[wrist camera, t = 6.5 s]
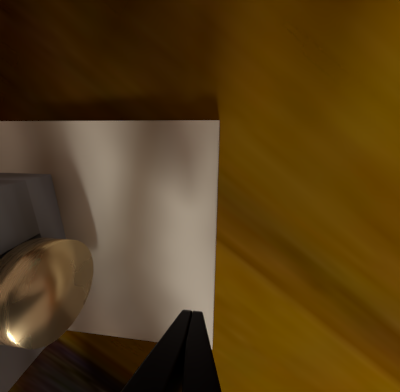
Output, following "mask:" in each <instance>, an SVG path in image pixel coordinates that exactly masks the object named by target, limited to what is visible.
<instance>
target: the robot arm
mask: <svg viewBox="0 0 400 392" xmlns="http://www.w3.org/2000/svg"><path fill="white" fill-rule="evenodd" d="M121 392H221V388H220V383H219V379H218V375H217V371H216V366H215V362H214V358H213V354H212V349H211V345H210V341H209V337H208V333H207V328H206V324H205V320H204V316H203V312H202V311H193V312H192V311H191V310H185V309H184V310H182V311H181V312H180V314H179V315H178V316H177V318H176V319H175V320H174V322H173V323H172V324H171V326H170V327H169V328H168V330H167V331H166V332H165V333H164V335H163V336H162V337H161V339H160V340H159V341H158V343H157V344H156V345H155V347H154V348H153V349H152V351H151V352H150V353H149V355H148V356H147V357H146V359H145V360H144V361H143V363H142V364H141V365H140V367H139V368H138V369H137V371H136V372H135V373H134V375H133V376H132V377H131V379H130V380H129V381H128V383H127V384H126V385H125V387H124V388H123V389H122V391H121Z"/></svg>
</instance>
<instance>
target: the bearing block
mask: <svg viewBox="0 0 400 392" xmlns="http://www.w3.org/2000/svg"><path fill="white" fill-rule="evenodd" d="M219 129H220V121H219V120H156V121H0V255H1V254H3V253H4V252H10V251H11V250H12V249H14V248H15V247H17V246H18V245H20V244H22V243H24V242H26V241H29V240H32V239H36V238H56V239H70V240H77V241H80V242H82V243H84V244H85V245H86V246H87V247H88V249H89V250H90V252H91V255H92V259H93V268H94V269H93V280H92V285H91V288H90V292H89V295H88V297H87V300H86V302H85V304H84V306H83V308H82V310H81V312H80V313H79V315H78V316H77V318H76V320H75V321H74V322H73V324H72V325H71V326H70V327H69V328H68V329H67V330H71V331H78V332H85V333H93V334H100V335H107V336H115V337H122V338H129V339H137V340H144V341H152V342H158V341H159V340H160V339H161V337H162V336H163V335H164V333H165V332H166V331H167V330H168V328H169V327H170V326H171V324H172V323H173V322H174V320H175V319H176V318H177V316H178V315H179V314H180V312H181V311H182V310H184V309H185V310H191V311H192V312H193V311H202V312H203V316H204V320H205V324H206V328H207V333H208V337H209V341H210V345H211V349H212V345H213V324H214V291H215V259H216V226H217V194H218V162H219ZM45 347H46V346H45ZM45 347H42V348H38V349H26V348H19V347H13V346H6V345H0V392H8V390H9V389H10V388H11V387H12V386H13V385H14V383H15V382H16V381H17V380H18V379H19V377H20V376H21V375H22V374H23V373H24V371H25V370H26V369H27V368H28V367H29V366H30V364H31V363H32V362H33V361H34V360H35V358H36V357H37V356H38V355H39V354H40V352H41V351H42V350H43V349H44V348H45Z"/></svg>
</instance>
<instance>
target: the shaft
mask: <svg viewBox="0 0 400 392" xmlns="http://www.w3.org/2000/svg"><path fill="white" fill-rule="evenodd" d="M93 269H94V268H93V259H92V255H91V252H90V250H89V249H88V247H87V246H86V245H85V244H84V243H82V242H80V241H77V240H70V239H56V238H36V239H32V240H29V241H26V242H24V243H22V244H20V245H18V246H17V247H15V248H14V249H12V250H11V251H10V252H4V253H3V254H1V255H0V345H6V346H13V347H19V348H26V349H38V348H42V347H45V346H47V345H49V344H51V343H52V342H54V341H55V340H57V339H58V338H59V337H60V336H61V335H63V334H64V333H65V332H66V331H67V329H68V328H69V327H70V326H71V325H72V324H73V322H74V321H75V320H76V318H77V316H78V315H79V313H80V312H81V310H82V308H83V306H84V304H85V302H86V300H87V297H88V295H89V292H90V288H91V285H92V280H93Z"/></svg>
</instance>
